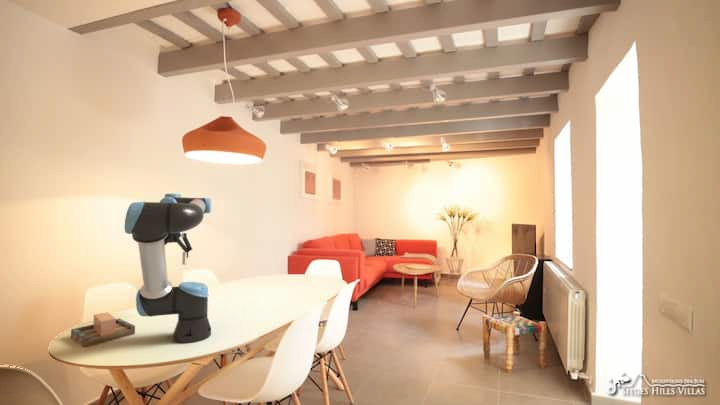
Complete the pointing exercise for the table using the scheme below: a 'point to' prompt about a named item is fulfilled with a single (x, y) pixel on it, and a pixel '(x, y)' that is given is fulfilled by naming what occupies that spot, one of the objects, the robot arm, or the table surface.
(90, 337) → the wooden tray
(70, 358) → the table surface
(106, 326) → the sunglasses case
